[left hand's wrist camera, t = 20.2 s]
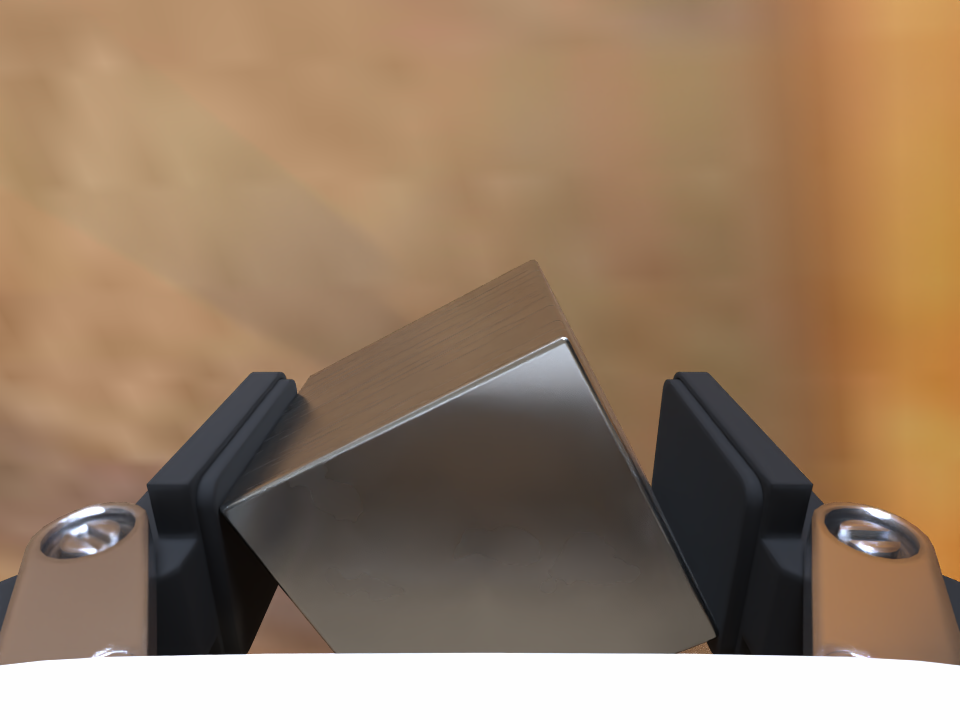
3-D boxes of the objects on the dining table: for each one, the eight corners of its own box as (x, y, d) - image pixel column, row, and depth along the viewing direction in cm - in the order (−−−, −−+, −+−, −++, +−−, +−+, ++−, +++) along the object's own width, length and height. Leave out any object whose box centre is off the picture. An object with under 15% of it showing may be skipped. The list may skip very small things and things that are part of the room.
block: (435, 561, 14) (416, 757, 9) (307, 376, 12) (213, 510, 8) (643, 470, 13) (723, 638, 9) (534, 256, 11) (568, 334, 7)
